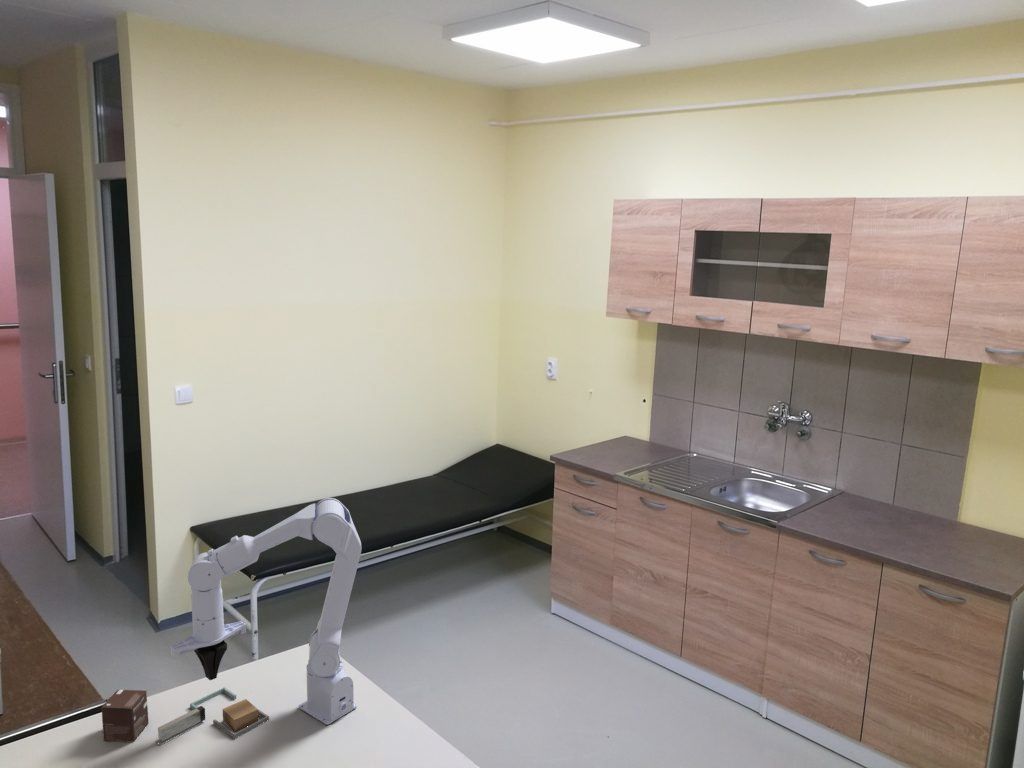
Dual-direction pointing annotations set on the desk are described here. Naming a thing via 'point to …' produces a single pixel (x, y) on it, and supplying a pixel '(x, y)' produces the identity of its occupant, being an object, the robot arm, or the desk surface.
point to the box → (125, 715)
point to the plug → (240, 715)
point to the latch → (181, 723)
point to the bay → (194, 704)
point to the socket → (228, 731)
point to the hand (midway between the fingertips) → (211, 677)
